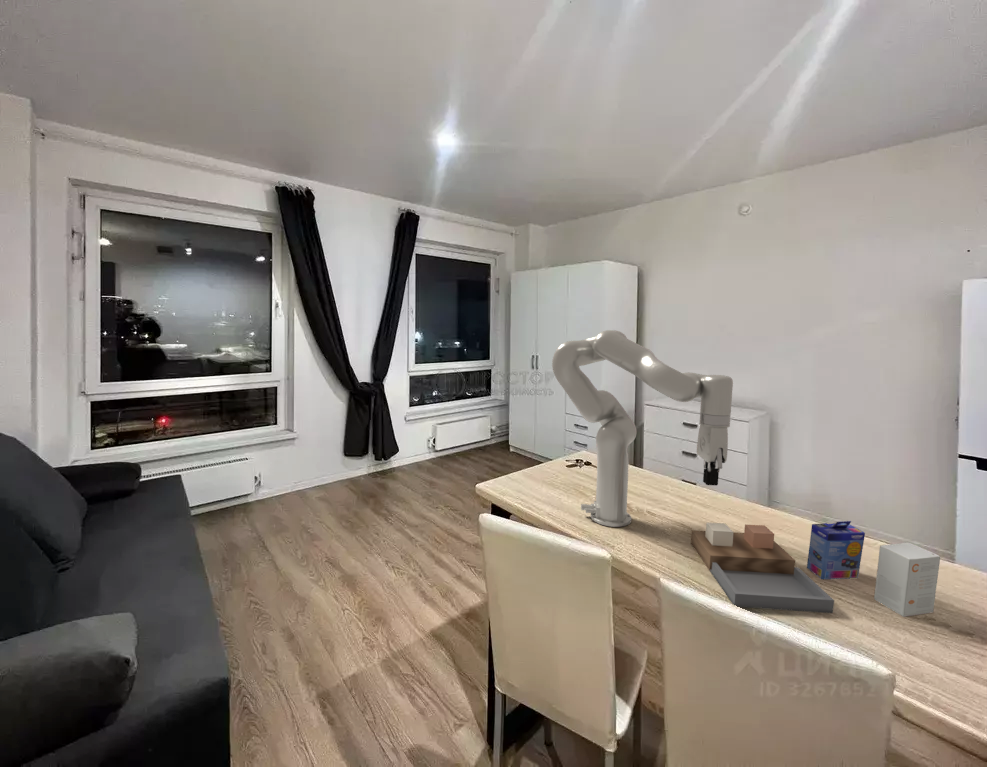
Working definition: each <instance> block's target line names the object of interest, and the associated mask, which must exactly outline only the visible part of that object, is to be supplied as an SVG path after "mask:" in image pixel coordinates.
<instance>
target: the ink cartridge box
mask: <svg viewBox="0 0 987 767" xmlns="http://www.w3.org/2000/svg"><path fill="white" fill-rule="evenodd" d="M851 523H852V521H851V520H846V521H843V520H841V521H836V522H834V523H827V522H825V523H812V524H811V531H810V537H809V548H808V555H807V561H806V562H807V564H806V569H808V571H810V572H812V573H813V574H814V575H815V576H816V577H818V578H819V579H820V578H821V579H820V580H822V579H823V580H824V579H825V580H849V579H850V578H857V579H859V574H860V567H861V561H862V555H863V548H864V544H865V543H864V542H865V536H866V532H864V531H862V530H861V529H859V528H857V527H856V526H854V525H852V524H851ZM823 580H822V581H823Z"/></svg>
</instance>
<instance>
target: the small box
mask: <svg viewBox="0 0 987 767" xmlns="http://www.w3.org/2000/svg"><path fill="white" fill-rule="evenodd" d="M878 551H879V552H878V562H877V568H876V570H877V571H876V580H875V590H874V595H873V596H874V597H873V599H874V601H875V600H876V602H877V601H878V603H879V602H880V603H879V604H881V603H882V604H883V606H884V605H885V606H884V607H886V606H887V607H886V608H888V609H889V608H890V609H889V610H891V609H892V610H891V611H893V612H894V611H895V612H894V613H896V614H898V615H899V616H901V617H903V618H904V617H910V616H916V615H924V614H931V613H934V608H935V602H936V600H935V599H936V592H937V586H938V585H937V584H938V578H939V577H938V576H939V570H940V561H941V556H940V555H939V554H937V553H934V552H932V551H931V550H928V549H926V548H923V547H920V546H919V545H916V544H914V543H911V542H901V543H894V544H893V543H892V544H883V545H879V550H878ZM882 604H881V605H882Z"/></svg>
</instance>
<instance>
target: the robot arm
mask: <svg viewBox="0 0 987 767" xmlns="http://www.w3.org/2000/svg"><path fill="white" fill-rule="evenodd" d="M606 360H607V361H608V362H609V363H612V364H613V365H615V366H617V367H619V368H622V369H623V370H625V371H626V372H628V373H630V374H632V375H634V376H635V377H636V378H637V379H639V380H641V381H642V382H643V383H645V384H646V385H648V386H649V387H650V388H652V389H654V390H655V391H657V392H659V393H661V394H662V395H664V396H666V397H668V398H669V399H672V400H674V401H676V402H679V403H687V402H690V401H691V402H692V400H695V399H700V410H699V427H698V428H699V429H698V436H697V443H696V453H697V455H698V456H699V457H700V458H701V459H702V460H703V478H702V483H704V484H705V485H706V486H718V485H719V473H720V470H721V469H723V464H725V463H726V462H727V459H728V448H729V445H728V444H729V442H728V441H729V436H728V435H729V434H728V429H729V428H730V427H731V415H732V413H731V412H732V399H733V388H734V385H733V384H734V383H733V382H734V381H733V378H732V377H730V376H728V375H724V374H723V375H722V374H708V375H707V374H702V373H695V372H684V373H683V372H681V371H679V370H676V369H674V368H673V367H671V366H669V365H668V364H665V363H664V362H663V361H661V360H660V359H658V357H657V356H656V355H655V354H654V353H653V352H652V351H651V350H650V349H648V348H647V347H645V346H642V345H641V344H638V343H637V342H634V341H632V340H630V339H629V338H628V337H627V336H626V335H625V333H623V332H622V331H619V330H615V329H613V330H610V329H607V330H602V331H601V332H599V333H598V334H597V335H596V336H593V337H589V338H585V339H582V340H568V341H565V342H562V344H559V346H558V347H557V348H556V350H555V352H554V353H553V356H552V363H551V366H552V371H553V375H554V376H555V379H556V380H557V382H558V384H559V385H560V386H561V388H562V389H563V390H564V392H565V394H567V396H568V398H569V399H570V401H571V402H572V403H573V404H574V406H575V407H576V409H577V410H578V412H579V413H580V415H581V417H582V418H583V419H584V420H585V421H587V422H588V423H591V424H592V423H593V424H595V423H596V424H597V423H599V424H600V428H599V429H598V430H597V432H596V437H595V444H596V448H595V449H596V457H597V458H596V459H597V460H596V462H597V463H596V488H595V492H596V494H595V495H596V496H595V500H593V503H590V504H585V503H581V504H580V510H581V511H585V513H586V514H588V513H589V514H590V519H591V520H592V521H594V522H595V523H597V524H599V525H602V526H606V527H612V528H613V527H614V528H617V527H626V526H628V525H630V524H631V523H632V515H631V514H630V513H628V512H627V510H628V489H629V488H628V487H629V485H628V483H629V453H628V447H629V445H630V444H632V443H633V442H634V441H635V439H636V437H637V431H638V430H637V427H636V424H635V423H634V421H633V419H632V418H631V417H630V415H629V414H628V413H627V411H626V410H625V408H624V407H623V406H622V404H621V402H620V401H619V400H618V399H617V397H615V395H613V394H612V393H611V392H609V391H607V390H605V389H604V390H598V389H597V388H596V387H595V386H594V384H593V383H592V381H591V380H590V378H589V377H588V376H587V375H586V374H585V373H584V372H583V371H582V370H581V368H580V367H582V366H587V365H590V364H595V363H598V362H601V361H606Z"/></svg>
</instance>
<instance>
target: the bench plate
mask: <svg viewBox="0 0 987 767" xmlns="http://www.w3.org/2000/svg"><path fill="white" fill-rule="evenodd" d="M705 533H706V530H700V529H699V530H696V529H695V530H694V529H692V530H691V531H690V545H691V547H693V549H694V550H695V552H696V553H698V554H697V555H698V556H699V558H700V560H701V561H702V562H703V563H705V564H704V565H705V566H706V568H707V569H708V571H710V569H712V562H715V563H717V564H718V565H719V566H720V568H721V569H722V570H730V571H747V572H763V573H779V574H794V567H796V560H797V559H795V558H794V557H792V555H790V554H789V553H788V552H787V551H786V550H785V549H784V548H783V547H782V546H780V545H779V544H778V543H777V541H775V540H774V544H773V549H770V548H753V547H752V546H751V545H750V544H749V543H748V542H747V541H746V540H745V539H744V532H736V531H735V532H734V531H733V545H732V546H716V545H712V544H711V543H710V542H709V540H708V539H707V538H706V537H705Z"/></svg>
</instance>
